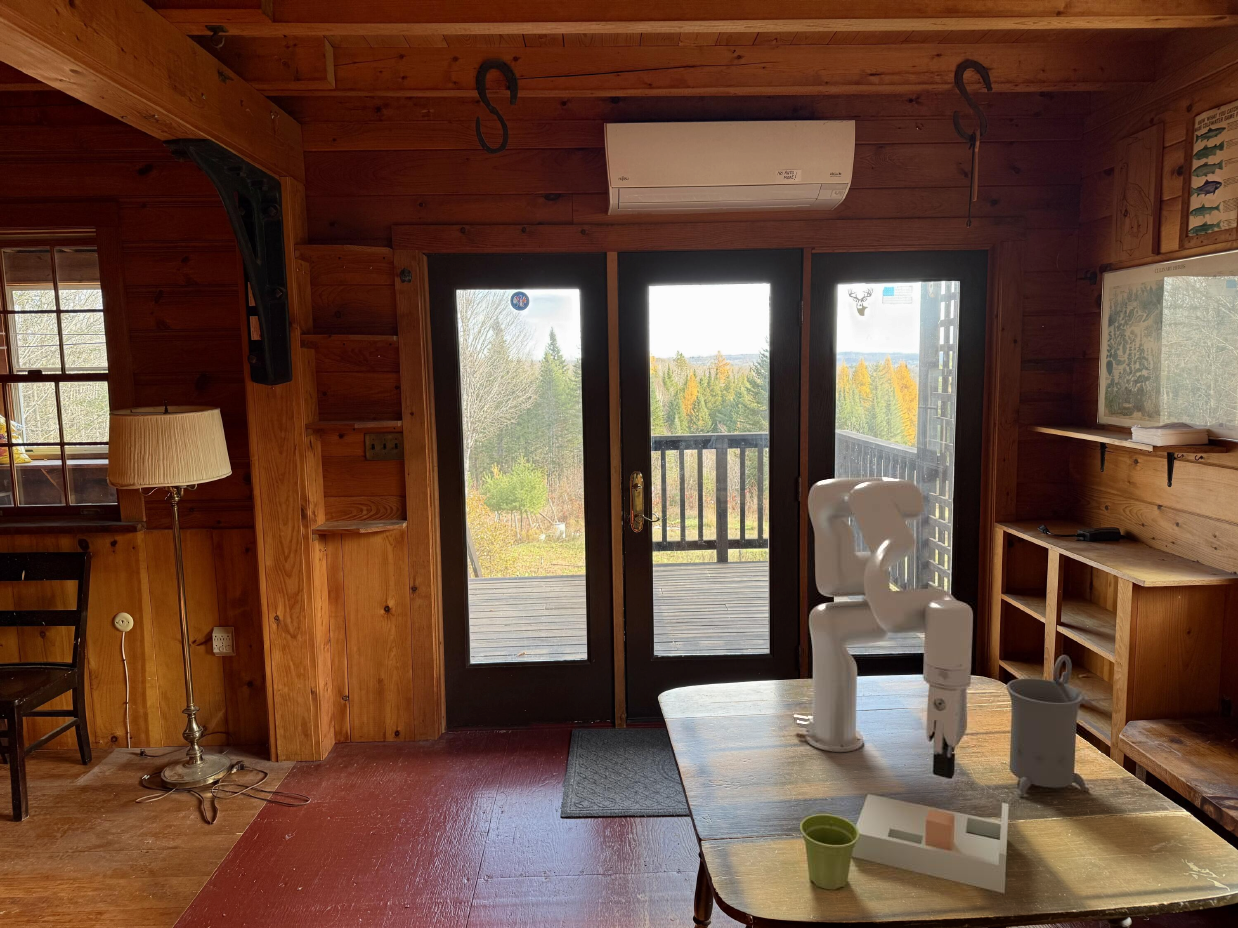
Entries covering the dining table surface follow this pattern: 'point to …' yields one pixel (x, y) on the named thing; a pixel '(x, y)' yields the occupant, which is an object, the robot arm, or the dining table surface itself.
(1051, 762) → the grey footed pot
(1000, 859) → the tray
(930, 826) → the block
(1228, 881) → the dining table surface
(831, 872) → the plant pot
